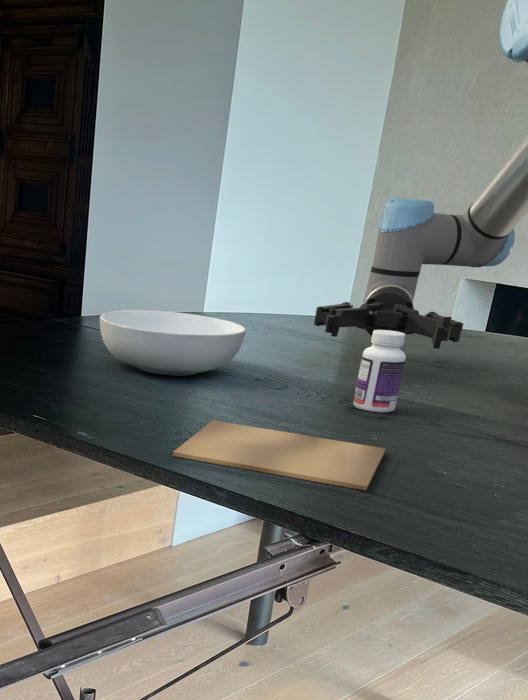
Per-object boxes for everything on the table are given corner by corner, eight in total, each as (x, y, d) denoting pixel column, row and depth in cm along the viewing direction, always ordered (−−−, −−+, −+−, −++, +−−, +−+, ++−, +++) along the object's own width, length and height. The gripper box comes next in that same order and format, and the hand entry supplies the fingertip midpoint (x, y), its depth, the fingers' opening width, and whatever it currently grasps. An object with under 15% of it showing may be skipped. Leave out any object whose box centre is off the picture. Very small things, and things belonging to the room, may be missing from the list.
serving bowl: (267, 384, 140) (275, 334, 136) (134, 387, 132) (139, 335, 129) (194, 354, 157) (200, 308, 153) (73, 355, 149) (76, 308, 146)
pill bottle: (399, 408, 131) (416, 333, 127) (388, 415, 127) (405, 337, 123) (358, 401, 134) (374, 326, 129) (346, 408, 130) (362, 331, 125)
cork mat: (385, 452, 111) (386, 448, 111) (366, 491, 98) (367, 486, 97) (211, 424, 117) (212, 419, 117) (172, 456, 104) (173, 451, 104)
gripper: (466, 346, 152) (476, 371, 134) (301, 327, 158) (289, 349, 140) (479, 294, 148) (490, 314, 130) (310, 277, 154) (299, 293, 136)
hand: (386, 332), depth 135 cm, fingers open, 13 cm apart
